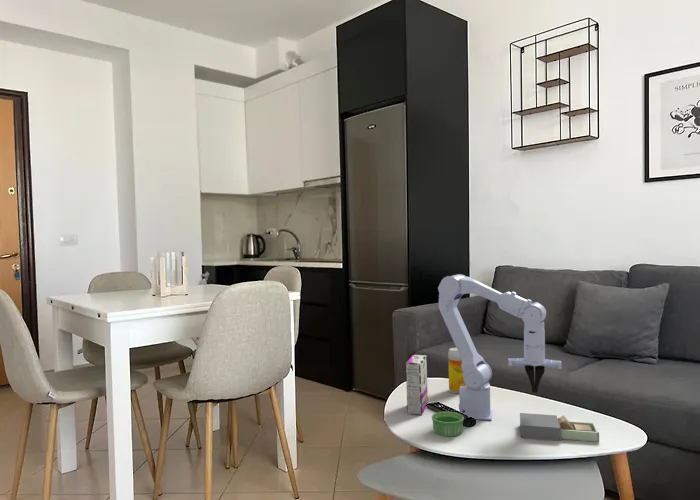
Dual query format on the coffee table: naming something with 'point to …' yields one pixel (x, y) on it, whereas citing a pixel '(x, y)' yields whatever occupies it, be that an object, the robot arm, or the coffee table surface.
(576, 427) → the oak tile
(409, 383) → the candy bar box
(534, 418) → the grey flat block
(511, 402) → the coffee table surface
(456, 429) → the ramekin
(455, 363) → the beer glass
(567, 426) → the oak tile
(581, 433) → the tray
